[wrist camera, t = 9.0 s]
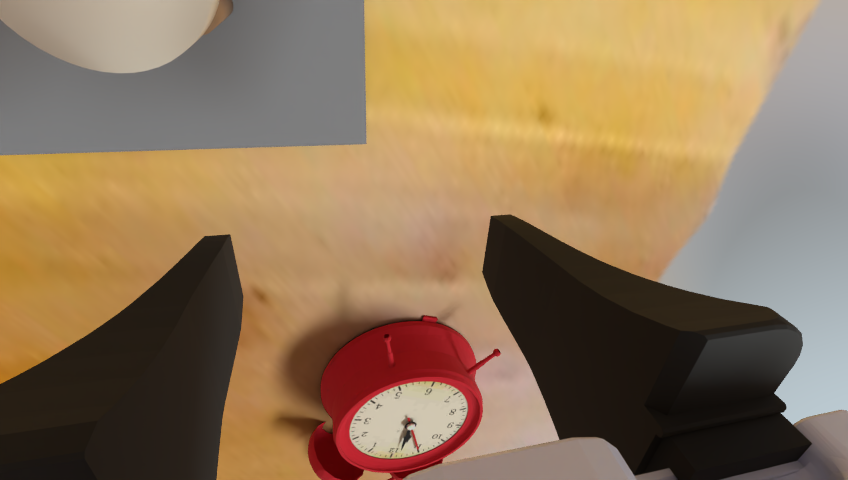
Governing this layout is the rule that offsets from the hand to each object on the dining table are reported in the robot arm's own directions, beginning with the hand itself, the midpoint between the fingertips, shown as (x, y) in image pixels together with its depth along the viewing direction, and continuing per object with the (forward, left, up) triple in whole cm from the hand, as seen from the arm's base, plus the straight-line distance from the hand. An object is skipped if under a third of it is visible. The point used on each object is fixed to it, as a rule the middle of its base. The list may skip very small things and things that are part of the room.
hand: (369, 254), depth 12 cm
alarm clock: (+2, -18, -10) cm, 21 cm away
